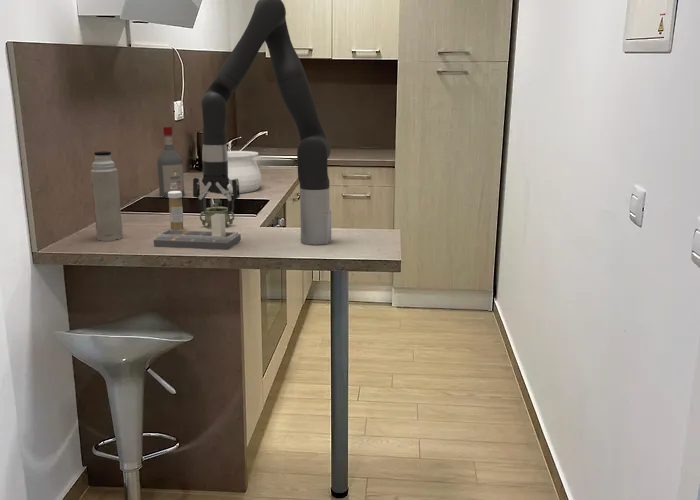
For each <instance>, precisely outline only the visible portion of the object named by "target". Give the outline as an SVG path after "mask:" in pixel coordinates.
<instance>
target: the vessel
mask: <svg viewBox="0 0 700 500" xmlns="http://www.w3.org/2000/svg"><path fill="white" fill-rule="evenodd" d="M214 214H225V229H226V228H228V227H229V225H233V221H234V220H235V214H234V212H233V211H232V212H231V213H228V206H227V207H226V206H211V207H206V211H204V212H203V211H201V212H200V214H199V220H200V221H201V225H203V226H205V225H206V224H207V225H206V228H208V229H212V227H211V216H212V215H214ZM230 215H231V216H232V218H230V217H231V216H230ZM202 216H204V219H202ZM228 223H229V224H228Z"/></svg>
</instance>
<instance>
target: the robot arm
mask: <svg viewBox="0 0 700 500" xmlns="http://www.w3.org/2000/svg"><path fill="white" fill-rule="evenodd" d="M286 10H287V9H286V6H285V4H284V2H283V1H282V0H257V2H256V4H255V7H254V8H253V12H252V15H251V17H250V20H249V22H248V25H246V28H245V30H244V32H243V33H242V35H241V37H240V39H239V40H238V42H237V43H236V45H235V46H234V48H233V50H232V51H231V52H230V54H229V55H228V57H227V59H225V61H224V63H223V64H222V66H221V68H220V70H219V71H218V73H217V75H216V77H215V78H214V80H213V81H212V83H211V84H210V86H209V87H208V88H207V89H206V91H205V92H204V94H203V95H202V97H201V100H200V107H201V111H202V124H203V127H202V133H201V134H202V151H201V153H202V155H201V156H202V157H201V160H202V175H203V176H202V178H201V177H200V176H197V177H194V178H193V179H192V197H194V198H197V199H198V200H199V210H201V212H205V211H206V208H207V198H206V197H207V195H208V194H209V193H217V194H222V195H223V196H225V198H226V200H227V208H228V213H231V212H233V211H234V210H235V200H237V199H239V198H240V197H241V193H239V181H238V179H232V180H229V178H228V153H227V151H228V147H227V132H226V131H227V130H226V121H227V120H226V119H227V116H226V115H227V103H228V101H229V100H230V98H231V97H232V95H233V93H234V92H235V91H236V90H237V89H238V88H239V87H240V86H241V83H242V82H243V80H244V78H245V77H246V76H247V73H248V72H249V71H250V69H251V67H252V65H253V63H254V61H255V59H256V57H257V54H258V53H259V51H260V49H261V47H262V46H263V44H265V45H266V47H267V50H268V53H269V56H270V63H271V67H272V71H273V75H274V79H275V82H276V86H277V88H278V91H279V94H280V97H281V99H282V101H283V104H284V105H285V107H286V109H287V111H288V112H289V114H290V116H291V117H292V118H293V121H294V123H295V125H296V128H297V129H296V130H297V132H298V135H299V139H300V140H299V141H300V142H299V144H298V147H297V152H296V159H297V160H296V161H297V163H296V164H297V177H298V178H297V179H298V183H299V204H300V205H299V208H300V209H299V210H300V214H299V215H300V217H299V218H300V221H299V222H300V242H301V243H302V244H304V243H305V245H310V244H313V245H314V246H315V245H316V246H317V245H328V244H329V243H330V242H331V241H332V210H331V209H330V204H331V203H330V199H331V198H330V178H329V174H328V159H329V158H330V155H331V145H330V142H329V140H328V137H327V136H326V133H325V131H324V129H323V126H322V124H321V121H320V119H319V116H318V113H317V109H316V105H315V101H314V96H313V94H312V89H311V86H310V84H309V80H308V77H307V74H306V71H305V69H304V66H303V64H302V61H301V59H300V57H299V56H298V54H297V51H296V50H295V48H294V46H293V43H292V40H291V37H290V32H289V29H288V28H289V27H288V25H287V19H286V15H287V12H286ZM229 183H230V184H231V186H232V187H233V194H232V193H231V191H230V190H229V188H228V187H227V186H228V184H229ZM202 184H203V185H204V188H203V189H202V190H201V185H202ZM221 192H222V193H221ZM313 245H312V246H313Z"/></svg>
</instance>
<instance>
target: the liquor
mask: <svg viewBox="0 0 700 500" xmlns="http://www.w3.org/2000/svg"><path fill="white" fill-rule="evenodd" d="M162 133H163V135H164V136H163V137H164V138H163V139H164V149H163V151H162V152H161V153H160V155H159V156H158V157H157V159H156V161H157V175H158V177H157V178H158V188H159V189H158V190H159V196H160V197H161V196H162V197H168V192H170V191H181V192H182V196H184V197H185V181H184V178H185V177H184V166H183V165H184V164H183V158H182V157H181V155H180V154H178V152H177V151H176V150H175V147H174V143H173V142H174V141H173V140H174V139H173V127H172V126H163V132H162ZM162 197H161V198H162Z"/></svg>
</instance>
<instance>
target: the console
mask: <svg viewBox="0 0 700 500" xmlns="http://www.w3.org/2000/svg"><path fill="white" fill-rule="evenodd" d="M211 235H212V230H208V231H207V230H188V229H187V230H186V229H184V230H170V229H165V230H163V231H160V232H159V233H157V234H156V238H155V239H153V246H154V247H159V248H184V249H191V248H192V249H209V250H210V249H211V250H212V249H213V250H229V249H231V248H232V247H234V246H235V245H237V244H238V243H240V242H241V241H242V236H241V234H240V233H239V231H237V232H236V231H226V236H225V237H222V236H211ZM240 240H241V241H240Z"/></svg>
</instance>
